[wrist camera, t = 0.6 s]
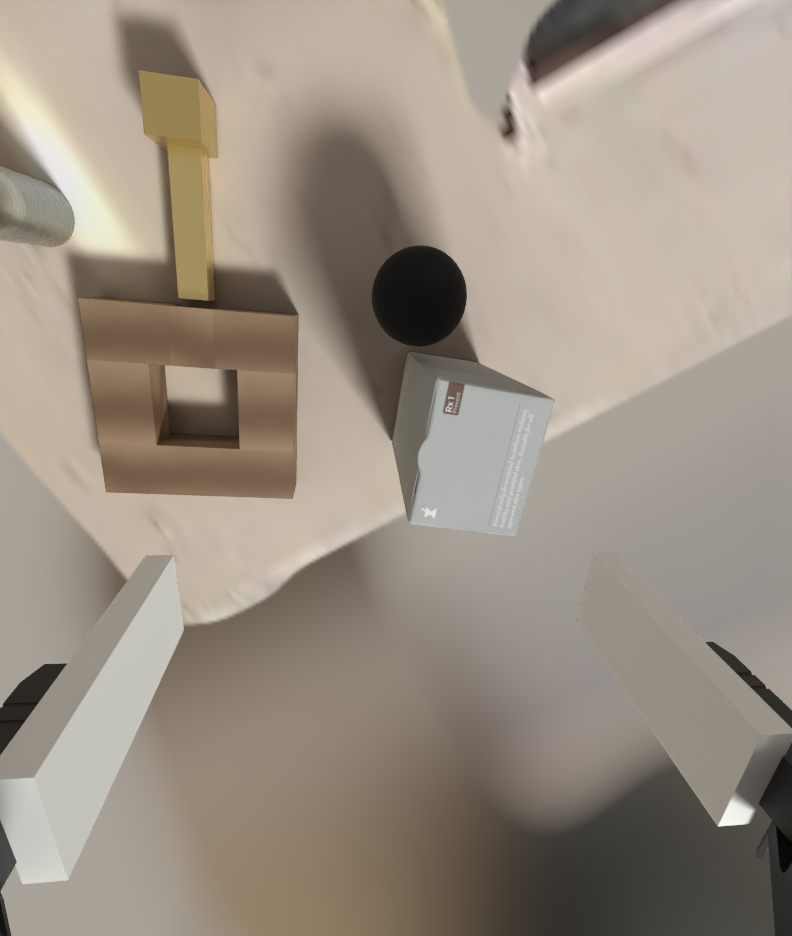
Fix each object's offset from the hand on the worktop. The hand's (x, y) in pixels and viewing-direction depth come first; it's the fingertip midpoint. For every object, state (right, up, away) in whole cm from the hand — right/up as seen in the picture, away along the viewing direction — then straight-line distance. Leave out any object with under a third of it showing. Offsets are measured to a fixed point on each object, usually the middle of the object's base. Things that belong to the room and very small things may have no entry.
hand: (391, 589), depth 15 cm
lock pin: (-14, +22, +17) cm, 31 cm away
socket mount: (-15, +9, +22) cm, 28 cm away
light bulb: (+1, +17, +21) cm, 27 cm away
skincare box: (+3, +9, +24) cm, 26 cm away
